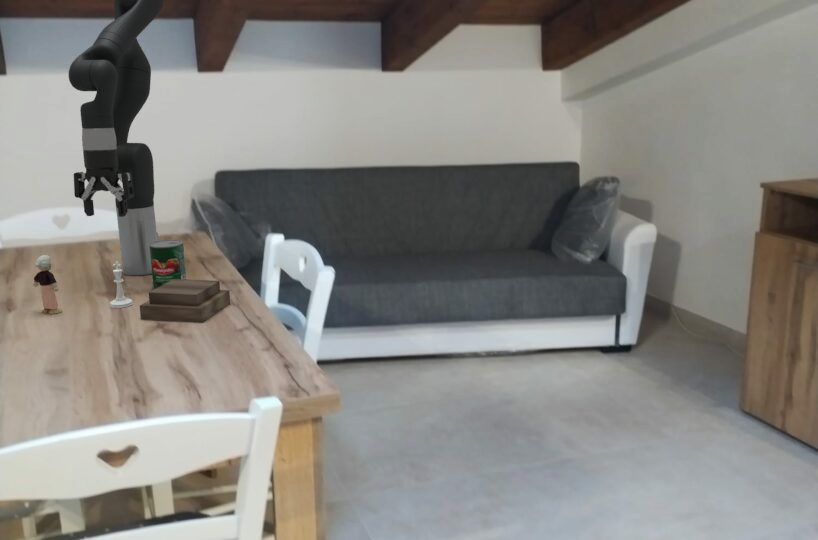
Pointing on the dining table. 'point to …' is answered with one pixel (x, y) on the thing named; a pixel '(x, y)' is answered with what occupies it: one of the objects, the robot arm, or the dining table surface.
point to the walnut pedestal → (185, 301)
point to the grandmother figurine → (47, 285)
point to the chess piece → (119, 290)
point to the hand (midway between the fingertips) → (106, 216)
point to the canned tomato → (167, 261)
